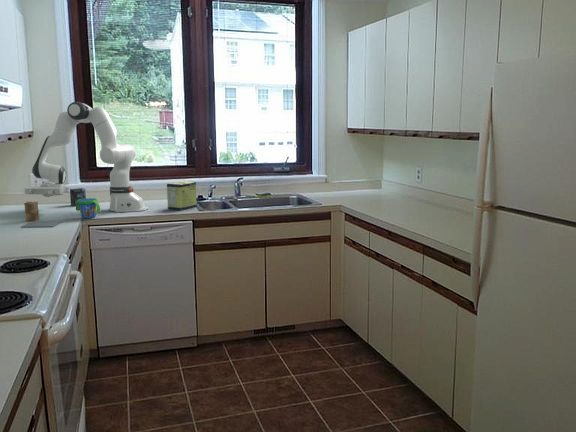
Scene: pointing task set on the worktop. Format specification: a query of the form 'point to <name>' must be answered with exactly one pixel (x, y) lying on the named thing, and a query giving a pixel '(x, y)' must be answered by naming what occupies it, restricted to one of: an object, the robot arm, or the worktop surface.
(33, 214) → the walnut block
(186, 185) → the protein box
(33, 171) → the robot arm
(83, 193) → the box
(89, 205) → the snack cup
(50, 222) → the mat
